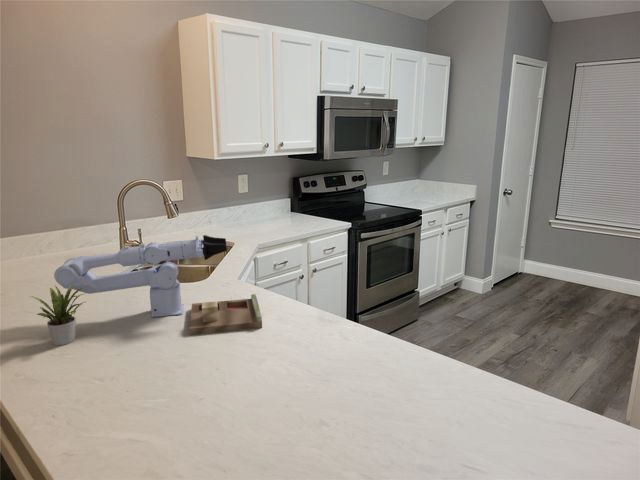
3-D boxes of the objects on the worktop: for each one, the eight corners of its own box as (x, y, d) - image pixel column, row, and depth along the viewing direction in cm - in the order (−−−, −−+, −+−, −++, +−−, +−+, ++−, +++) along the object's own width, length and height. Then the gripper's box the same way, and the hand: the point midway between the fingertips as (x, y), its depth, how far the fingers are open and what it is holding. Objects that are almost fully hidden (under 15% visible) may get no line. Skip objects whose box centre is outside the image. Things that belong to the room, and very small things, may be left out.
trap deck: (189, 335, 132) (188, 323, 131) (192, 309, 151) (191, 299, 150) (262, 327, 137) (261, 317, 136) (255, 303, 156) (255, 294, 155)
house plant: (108, 334, 133) (101, 281, 129) (68, 356, 120) (60, 297, 116) (70, 327, 137) (63, 276, 133) (28, 347, 124) (19, 291, 121)
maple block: (202, 322, 136) (201, 308, 135) (203, 316, 140) (202, 302, 139) (218, 320, 137) (217, 306, 136) (218, 315, 141) (217, 301, 140)
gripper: (179, 243, 138) (225, 237, 140) (183, 232, 152) (224, 227, 154) (183, 265, 140) (227, 259, 142) (186, 253, 153) (226, 247, 156)
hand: (226, 244), depth 148 cm, fingers open, 7 cm apart
